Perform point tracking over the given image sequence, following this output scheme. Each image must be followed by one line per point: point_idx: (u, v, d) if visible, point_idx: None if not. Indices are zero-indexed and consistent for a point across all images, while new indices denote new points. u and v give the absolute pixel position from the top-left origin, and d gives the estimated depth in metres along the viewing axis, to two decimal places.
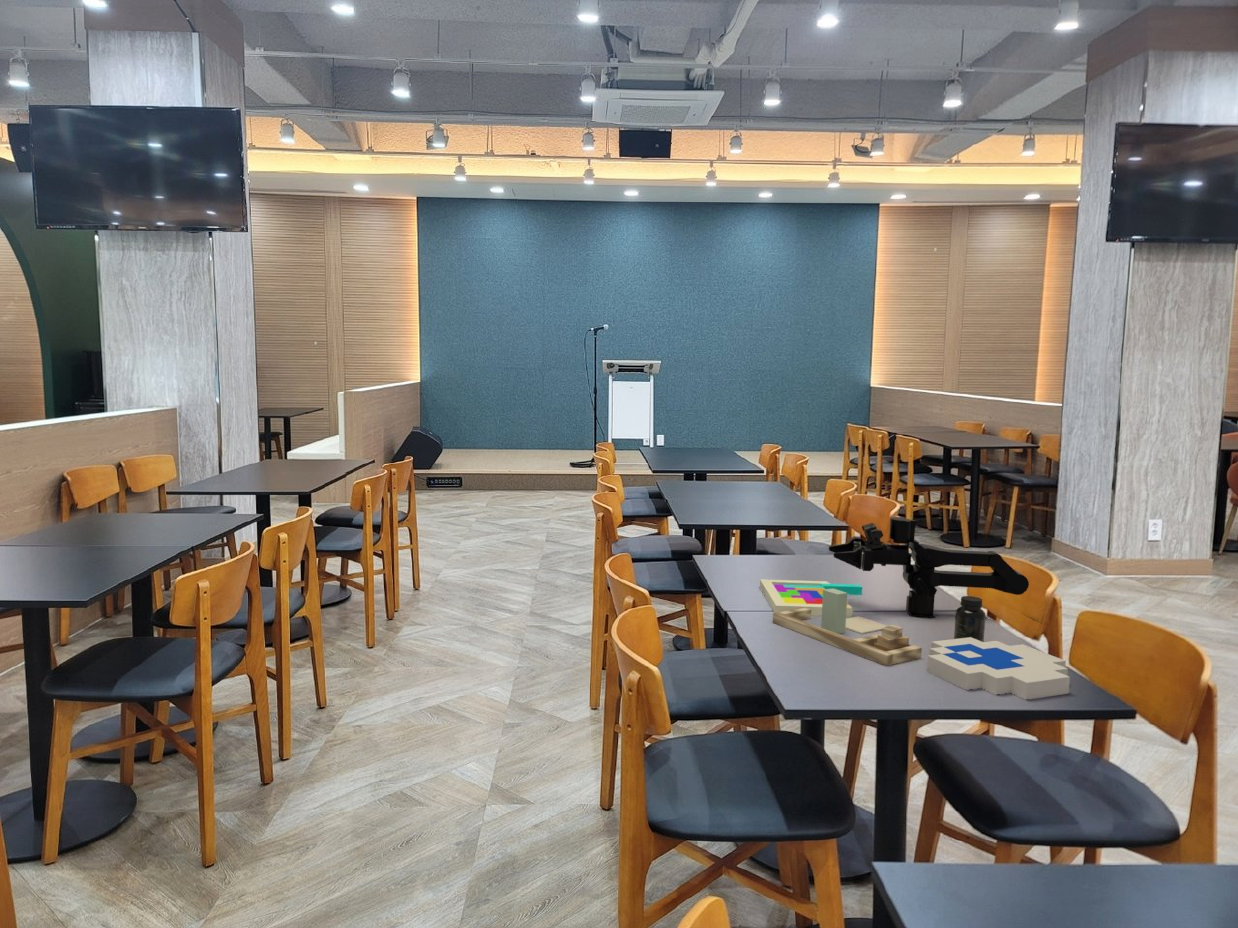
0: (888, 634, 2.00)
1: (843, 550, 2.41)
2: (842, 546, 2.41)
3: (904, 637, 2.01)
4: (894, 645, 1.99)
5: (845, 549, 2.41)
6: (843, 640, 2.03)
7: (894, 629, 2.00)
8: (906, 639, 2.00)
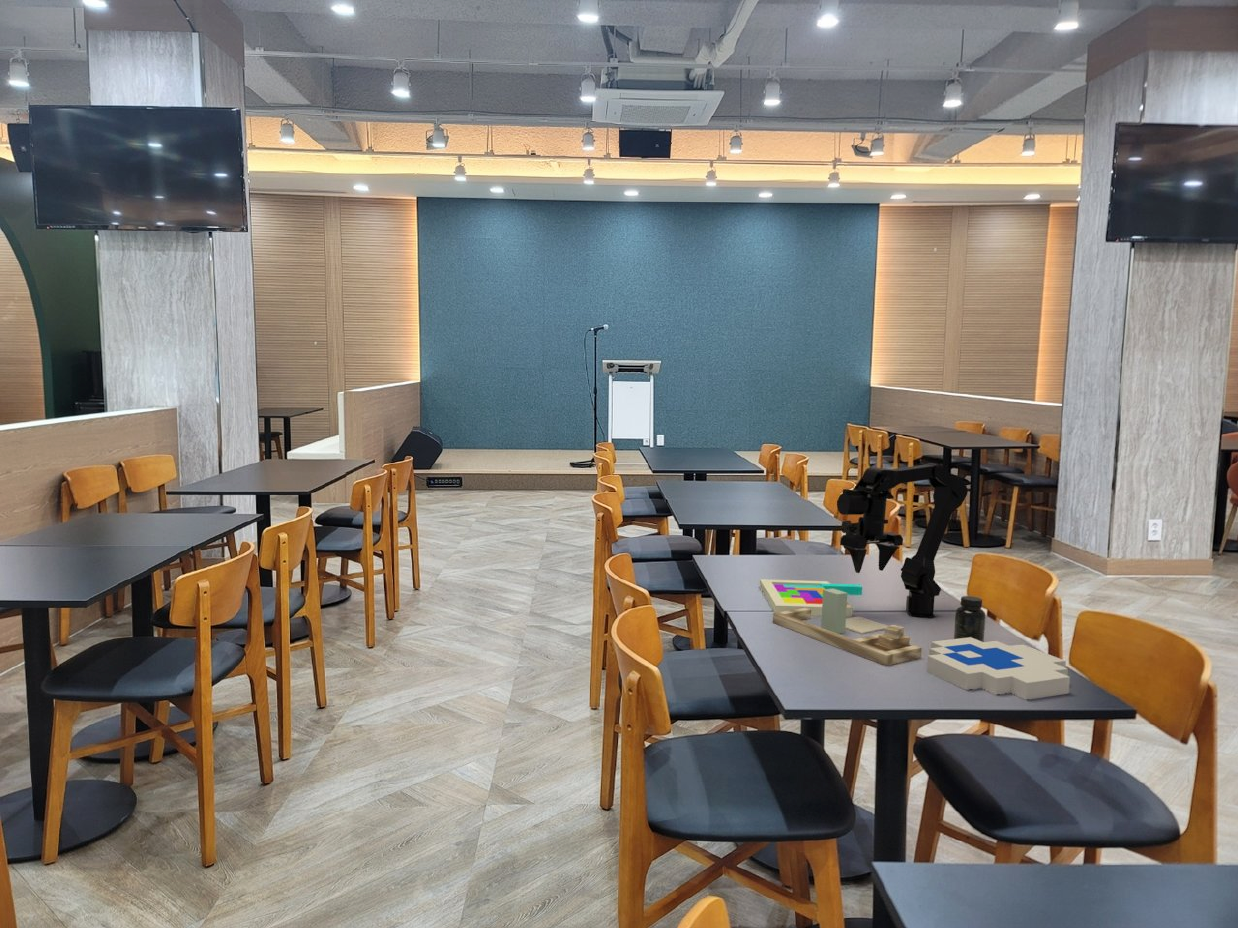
0: (892, 634, 1.99)
1: (883, 555, 2.30)
2: (880, 556, 2.31)
3: (905, 637, 2.01)
4: (896, 645, 1.99)
5: (883, 553, 2.31)
6: (843, 640, 2.03)
7: (897, 629, 2.00)
8: (907, 639, 2.01)
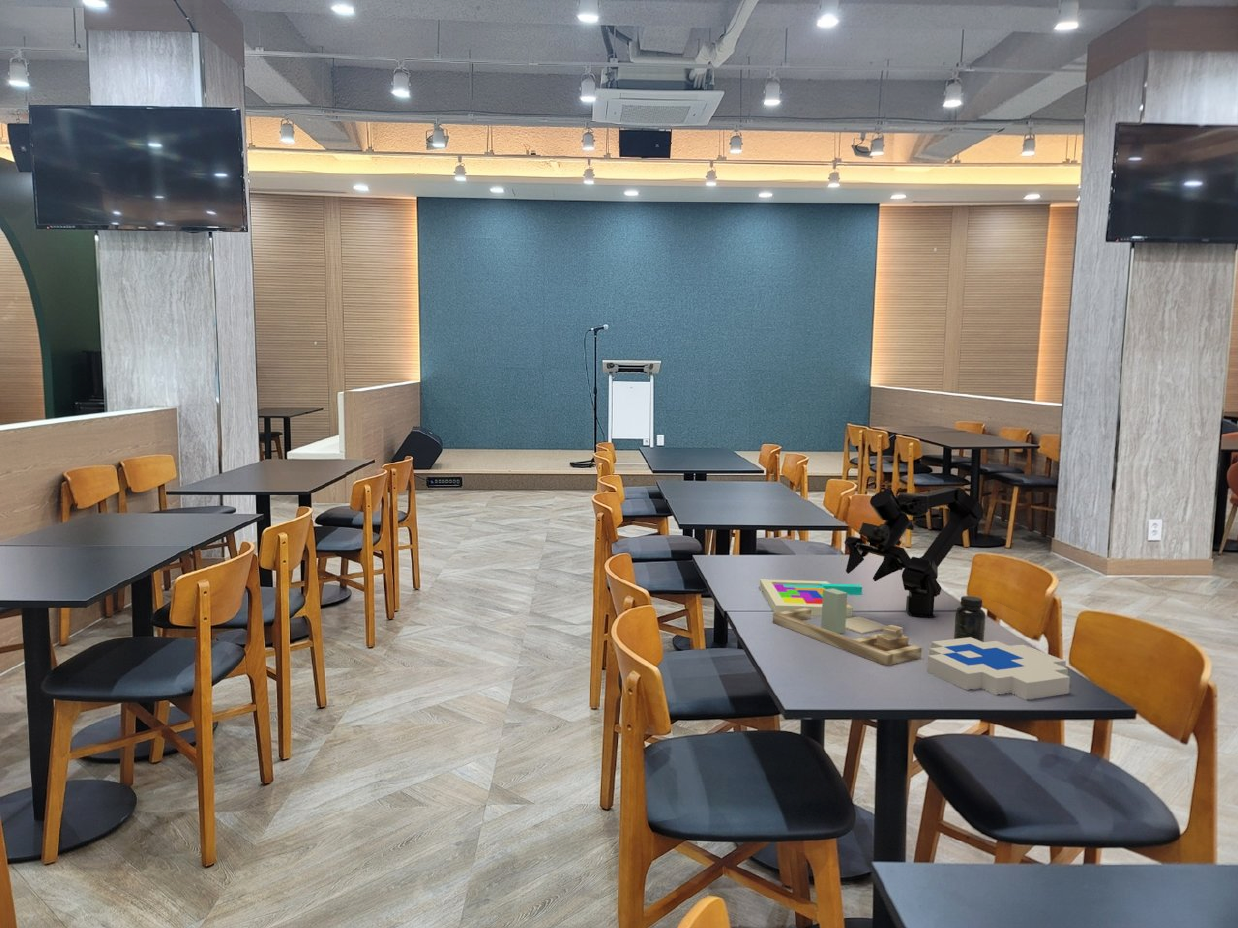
0: (890, 634, 1.99)
1: (855, 561, 2.27)
2: (853, 559, 2.26)
3: (903, 637, 2.01)
4: (894, 645, 1.99)
5: (856, 559, 2.27)
6: (843, 640, 2.03)
7: (895, 629, 2.00)
8: (905, 639, 2.00)
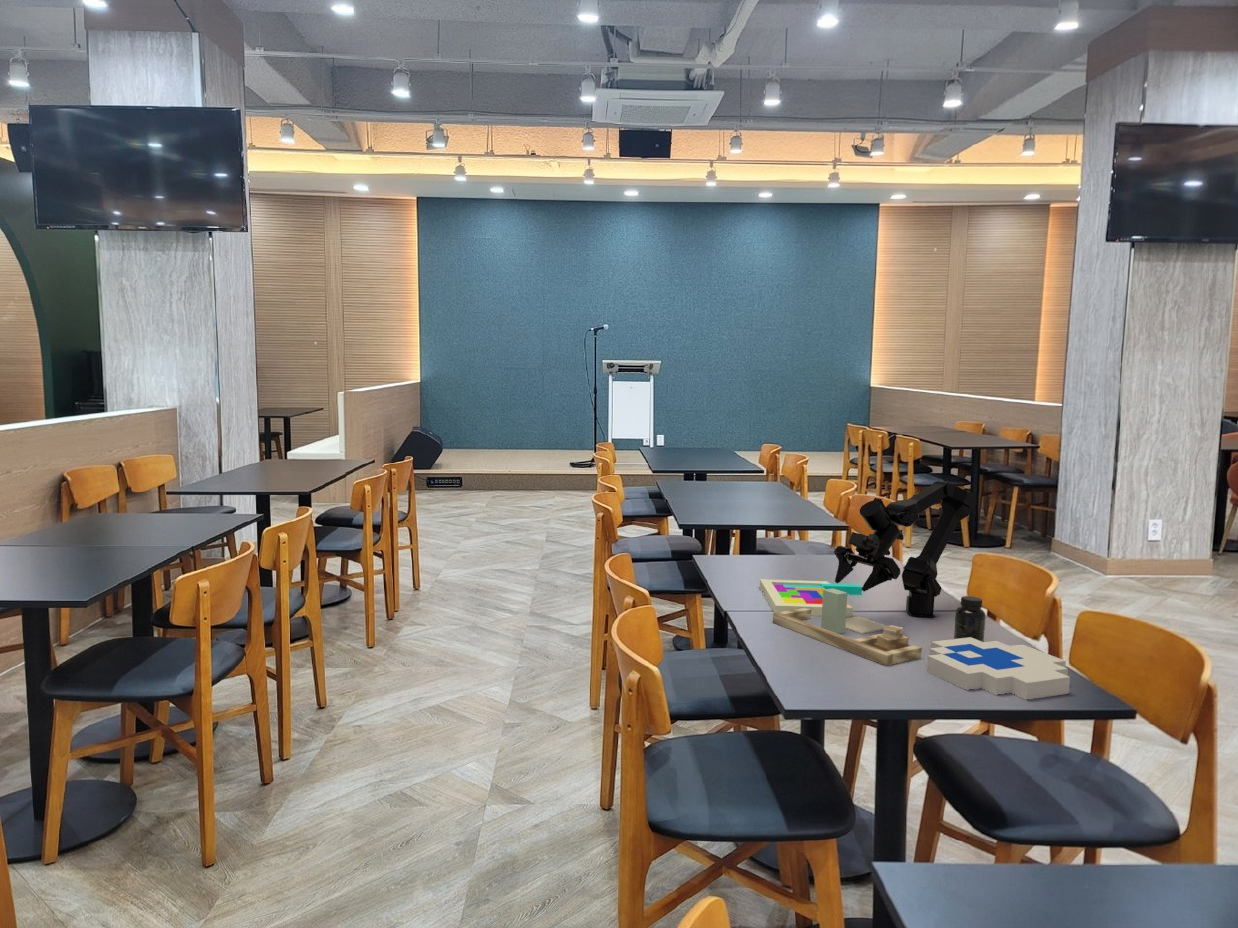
0: (890, 635, 2.00)
1: (844, 571, 2.25)
2: (842, 569, 2.24)
3: (903, 637, 2.01)
4: (894, 645, 1.99)
5: (845, 569, 2.25)
6: (843, 640, 2.03)
7: (895, 629, 2.00)
8: (905, 639, 2.01)
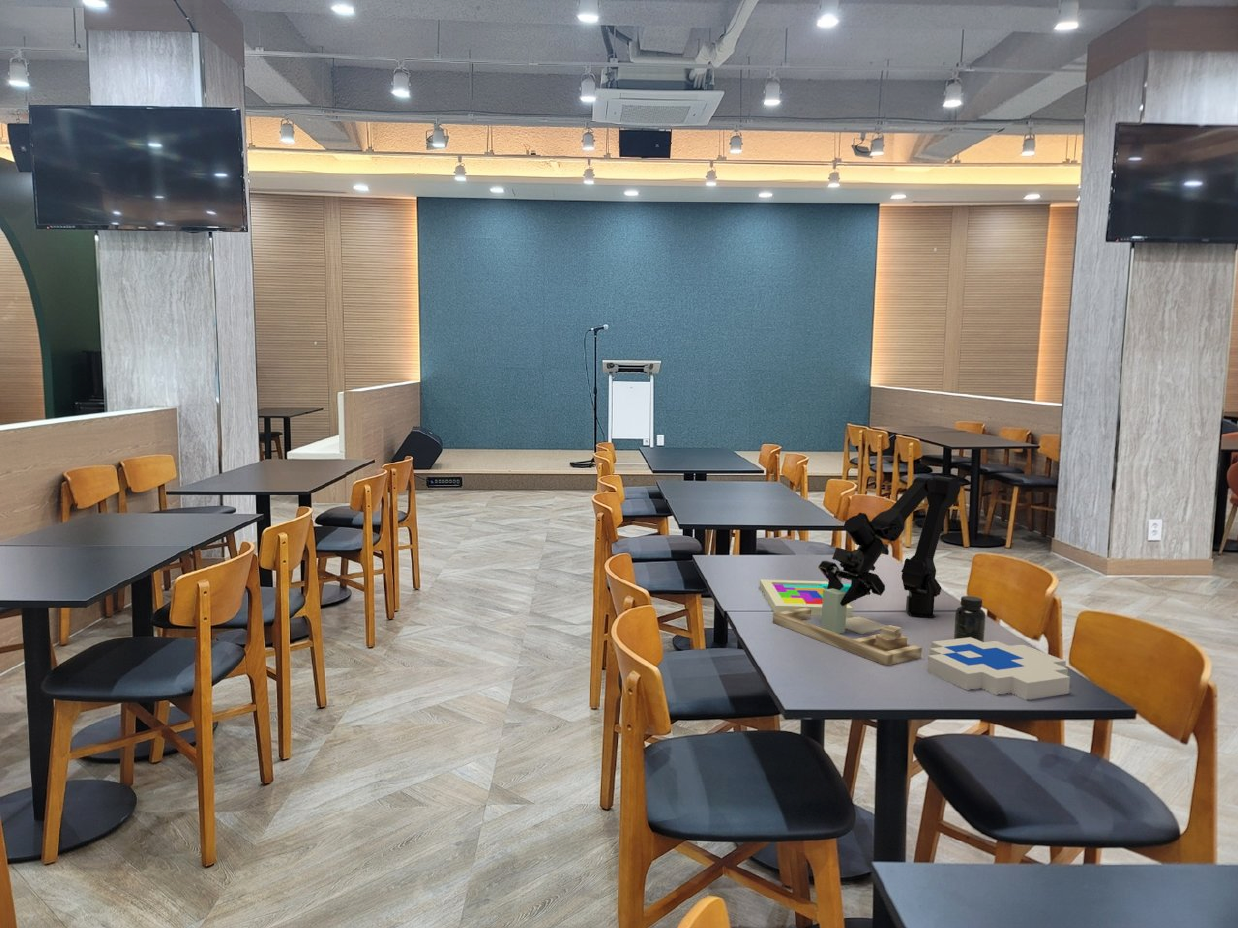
0: (888, 634, 2.00)
1: (834, 588, 2.21)
2: (832, 586, 2.20)
3: (902, 637, 2.01)
4: (892, 645, 1.99)
5: (835, 586, 2.21)
6: (843, 640, 2.03)
7: (894, 629, 2.00)
8: (904, 639, 2.01)
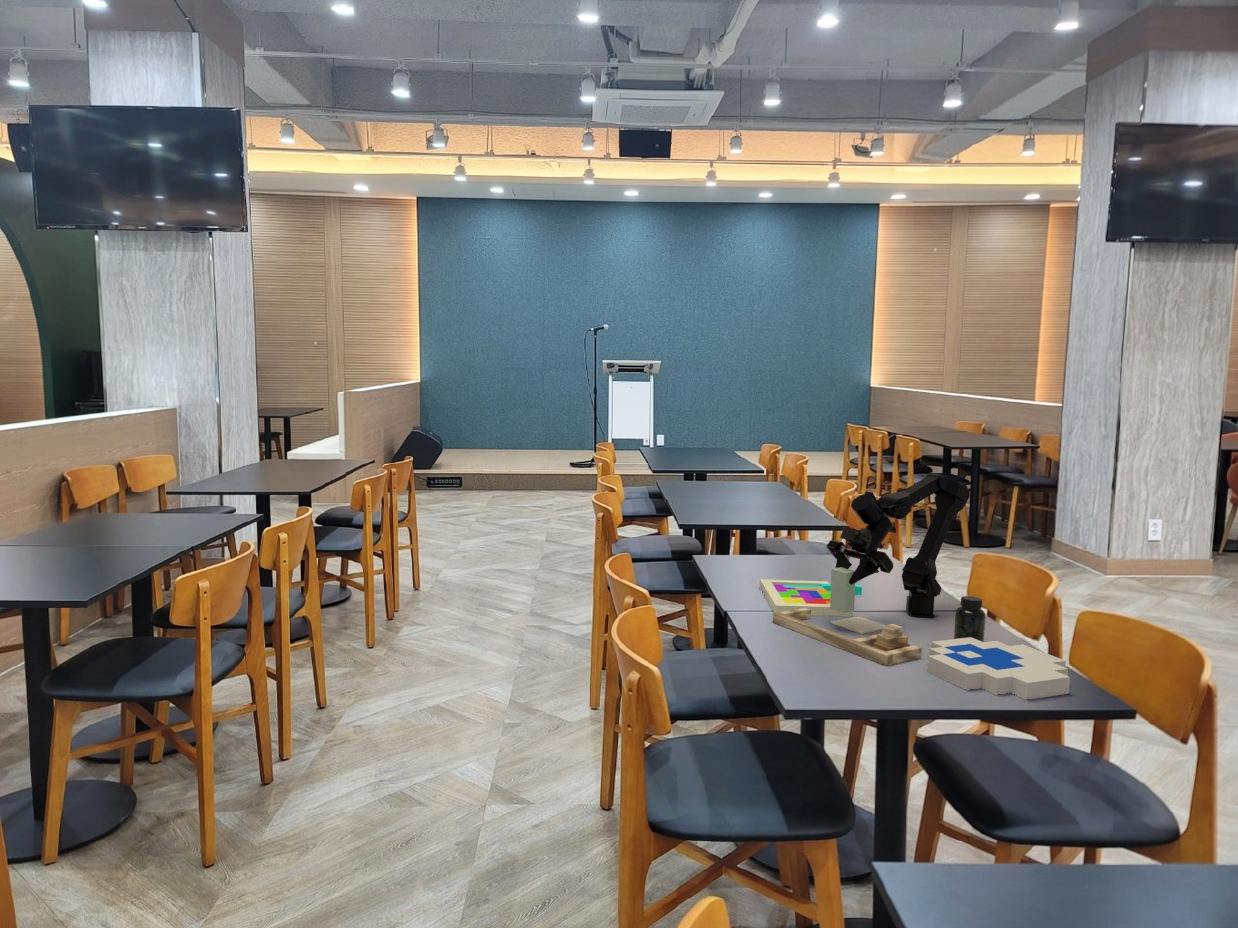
0: (888, 633, 2.00)
1: (843, 567, 2.22)
2: (840, 565, 2.21)
3: (903, 636, 2.01)
4: (893, 644, 2.00)
5: (843, 565, 2.22)
6: (843, 640, 2.03)
7: (894, 628, 2.01)
8: (905, 638, 2.01)
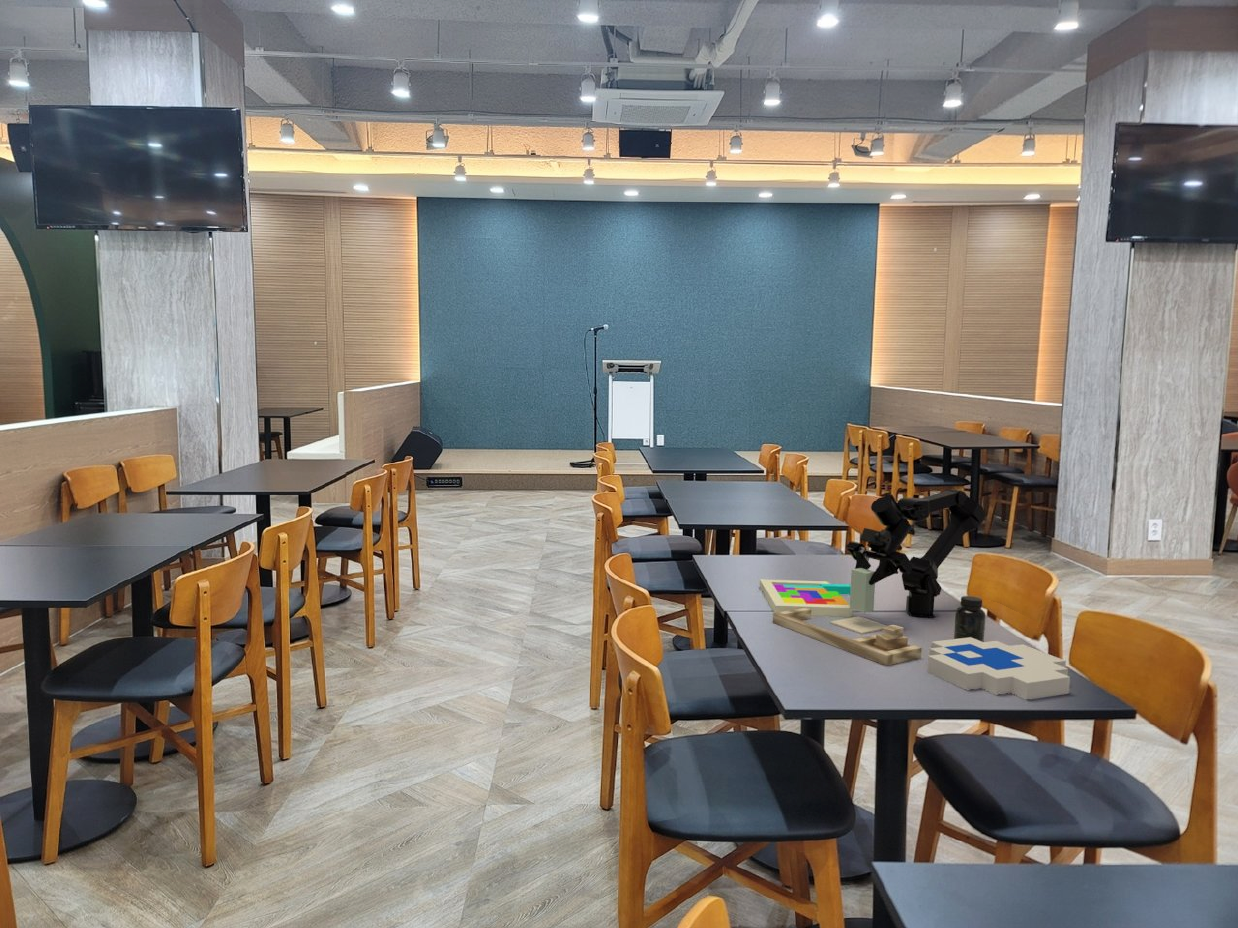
0: (888, 634, 2.00)
1: None
2: (860, 566, 2.25)
3: (903, 637, 2.01)
4: (892, 645, 2.00)
5: (863, 566, 2.26)
6: (843, 640, 2.03)
7: (894, 629, 2.01)
8: (905, 639, 2.01)
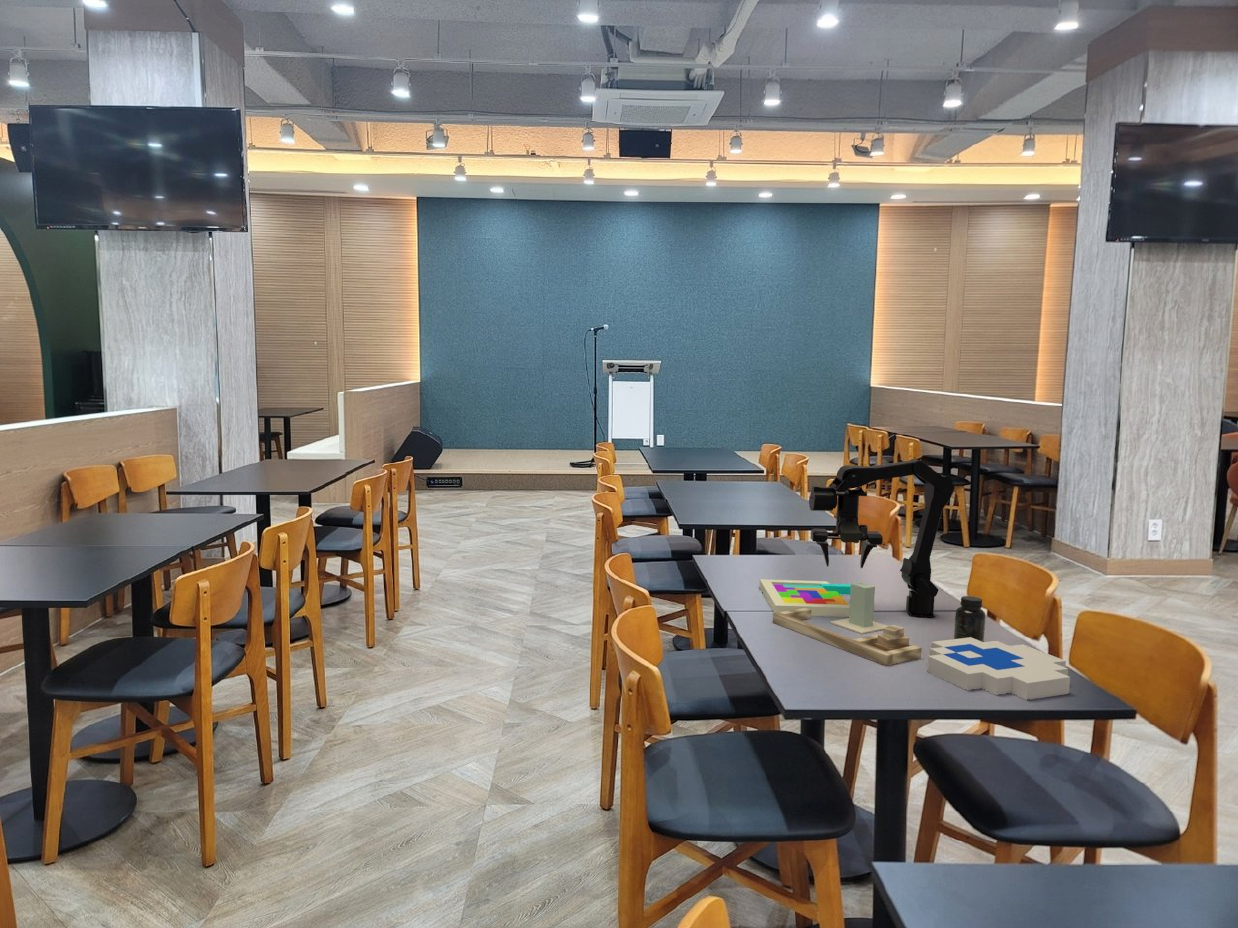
0: (889, 634, 2.00)
1: None
2: None
3: (904, 637, 2.01)
4: (893, 645, 1.99)
5: None
6: (843, 640, 2.03)
7: (895, 629, 2.00)
8: (906, 639, 2.00)
